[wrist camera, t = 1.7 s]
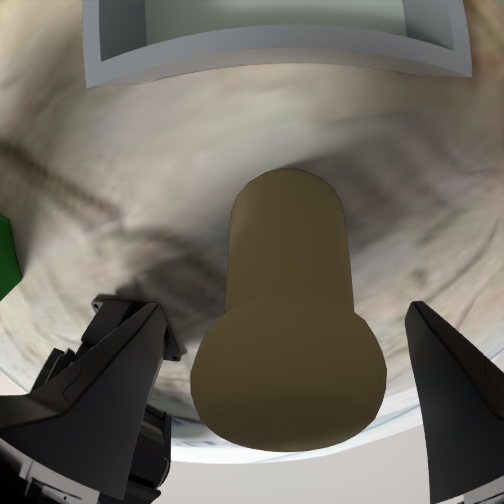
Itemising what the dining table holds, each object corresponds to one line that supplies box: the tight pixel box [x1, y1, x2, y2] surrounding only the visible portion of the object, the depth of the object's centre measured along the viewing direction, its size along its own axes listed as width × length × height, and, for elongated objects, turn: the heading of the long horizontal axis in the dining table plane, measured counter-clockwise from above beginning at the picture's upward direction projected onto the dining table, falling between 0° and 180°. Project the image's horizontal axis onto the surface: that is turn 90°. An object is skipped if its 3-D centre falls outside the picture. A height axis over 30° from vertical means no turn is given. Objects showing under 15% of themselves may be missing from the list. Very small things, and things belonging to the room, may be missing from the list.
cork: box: [190, 169, 387, 452], centre depth 10 cm, size 6×6×11 cm
